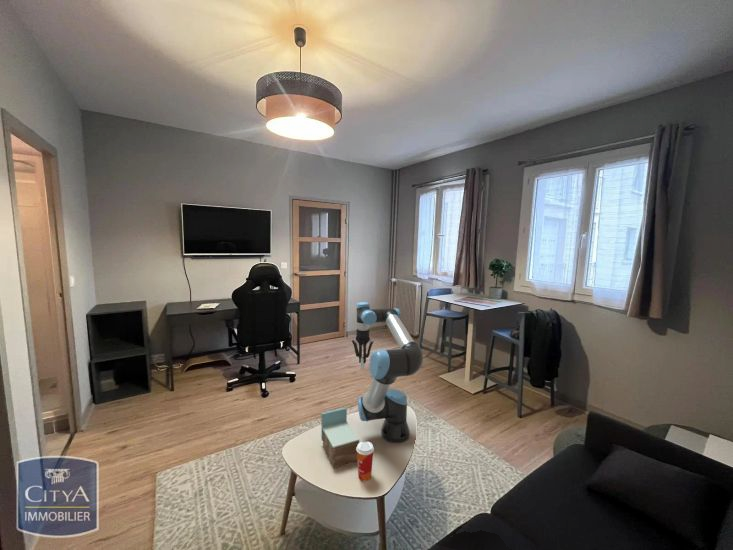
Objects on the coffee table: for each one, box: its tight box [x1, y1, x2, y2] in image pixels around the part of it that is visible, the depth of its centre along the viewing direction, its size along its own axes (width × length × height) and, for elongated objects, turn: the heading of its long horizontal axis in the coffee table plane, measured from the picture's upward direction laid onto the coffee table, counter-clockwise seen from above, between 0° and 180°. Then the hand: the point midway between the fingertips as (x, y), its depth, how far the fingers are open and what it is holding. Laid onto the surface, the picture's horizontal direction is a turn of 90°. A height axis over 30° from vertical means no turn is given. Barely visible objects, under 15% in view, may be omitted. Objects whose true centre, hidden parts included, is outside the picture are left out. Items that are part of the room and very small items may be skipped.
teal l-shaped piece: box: [320, 406, 360, 448], centre depth 147 cm, size 18×13×14 cm
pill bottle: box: [356, 441, 375, 482], centre depth 132 cm, size 8×8×14 cm
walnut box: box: [322, 431, 361, 469], centre depth 146 cm, size 16×13×9 cm
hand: (362, 368), depth 178 cm, fingers closed
